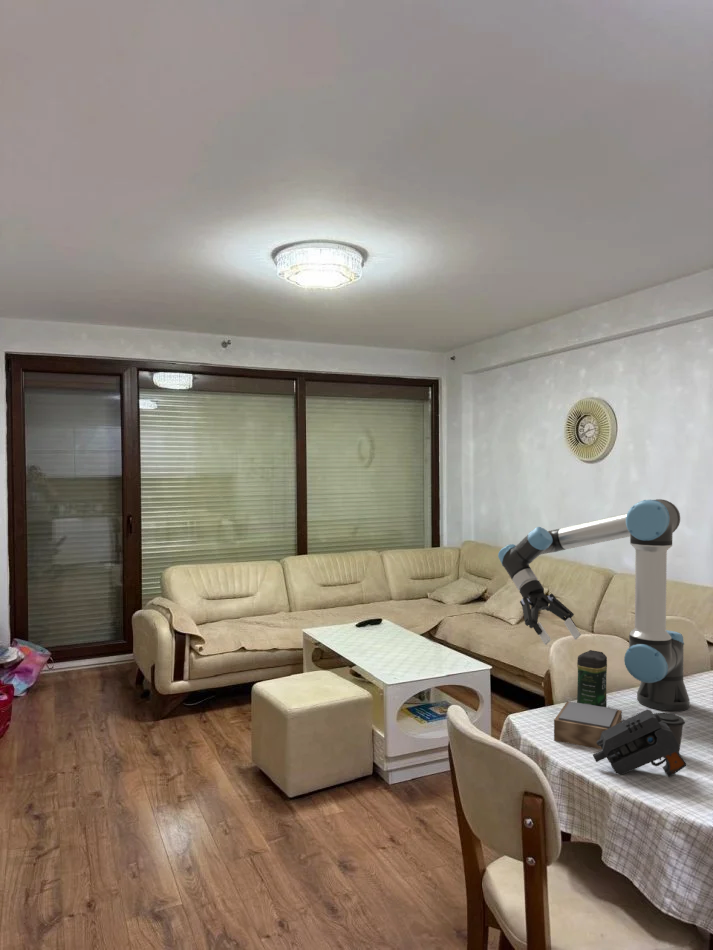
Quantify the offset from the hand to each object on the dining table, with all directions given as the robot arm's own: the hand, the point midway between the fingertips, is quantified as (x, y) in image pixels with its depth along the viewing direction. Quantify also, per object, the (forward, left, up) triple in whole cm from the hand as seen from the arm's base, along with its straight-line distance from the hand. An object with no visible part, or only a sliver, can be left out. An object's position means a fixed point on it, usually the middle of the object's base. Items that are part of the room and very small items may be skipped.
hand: (563, 639), depth 208 cm
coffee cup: (-32, +27, -20) cm, 46 cm away
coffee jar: (-10, +6, -20) cm, 23 cm away
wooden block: (-12, +24, -20) cm, 33 cm away
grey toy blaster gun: (-26, +42, -20) cm, 53 cm away
